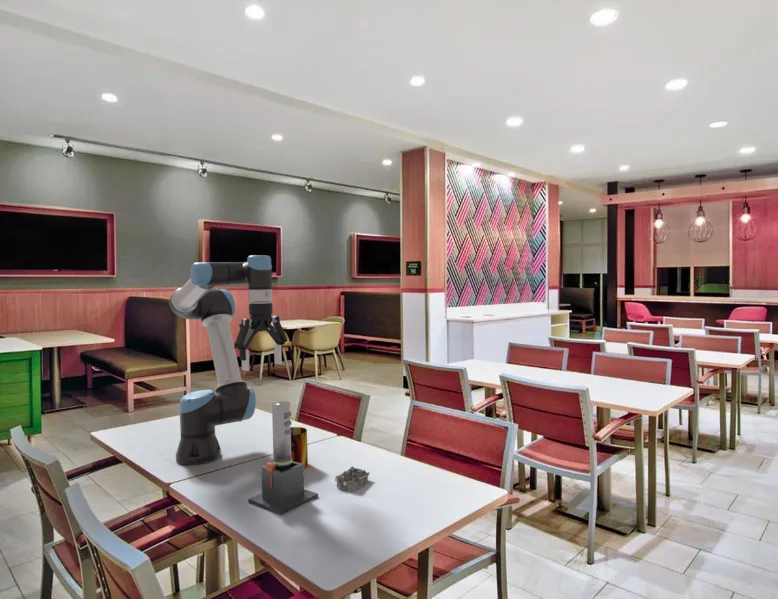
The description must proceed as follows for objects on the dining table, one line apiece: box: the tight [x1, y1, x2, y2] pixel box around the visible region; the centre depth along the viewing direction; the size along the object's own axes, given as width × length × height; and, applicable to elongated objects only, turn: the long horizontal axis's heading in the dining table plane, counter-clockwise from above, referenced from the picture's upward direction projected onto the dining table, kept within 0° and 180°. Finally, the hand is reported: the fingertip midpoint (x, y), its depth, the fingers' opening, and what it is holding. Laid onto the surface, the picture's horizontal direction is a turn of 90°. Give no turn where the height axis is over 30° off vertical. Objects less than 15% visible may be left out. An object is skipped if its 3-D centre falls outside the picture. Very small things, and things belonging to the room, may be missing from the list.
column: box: [271, 400, 292, 471], centre depth 150 cm, size 6×6×20 cm
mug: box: [290, 426, 309, 469], centre depth 176 cm, size 10×14×12 cm
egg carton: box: [334, 466, 370, 492], centre depth 162 cm, size 11×8×4 cm
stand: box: [247, 461, 319, 516], centre depth 151 cm, size 14×14×12 cm
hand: (262, 367), depth 172 cm, fingers open, 13 cm apart
